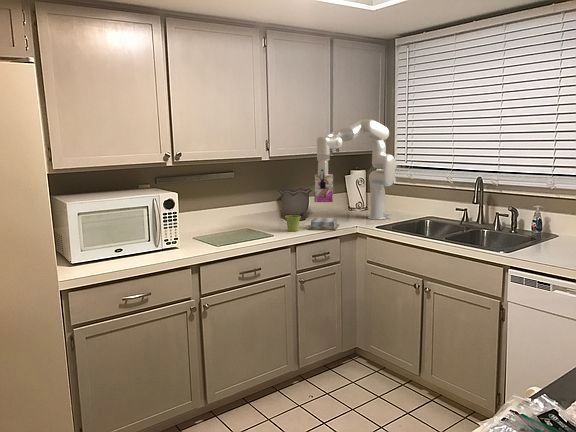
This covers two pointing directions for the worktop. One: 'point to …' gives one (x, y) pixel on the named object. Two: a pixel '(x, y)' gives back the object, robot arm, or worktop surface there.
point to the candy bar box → (326, 193)
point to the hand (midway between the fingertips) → (323, 187)
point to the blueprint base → (324, 224)
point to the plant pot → (292, 222)
